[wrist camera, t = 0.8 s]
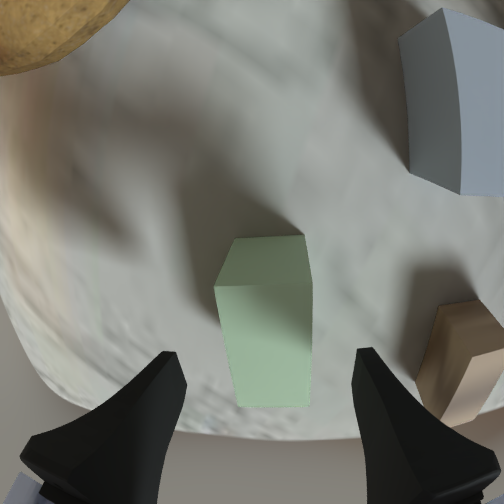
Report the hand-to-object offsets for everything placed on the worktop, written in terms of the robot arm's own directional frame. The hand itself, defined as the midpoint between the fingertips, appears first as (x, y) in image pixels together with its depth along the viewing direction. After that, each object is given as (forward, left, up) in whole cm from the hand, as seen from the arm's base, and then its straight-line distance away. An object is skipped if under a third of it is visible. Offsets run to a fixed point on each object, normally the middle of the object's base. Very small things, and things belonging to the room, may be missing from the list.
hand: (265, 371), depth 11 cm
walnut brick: (-12, +5, -6) cm, 14 cm away
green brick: (0, 0, -6) cm, 6 cm away
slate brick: (-9, -10, -6) cm, 15 cm away
